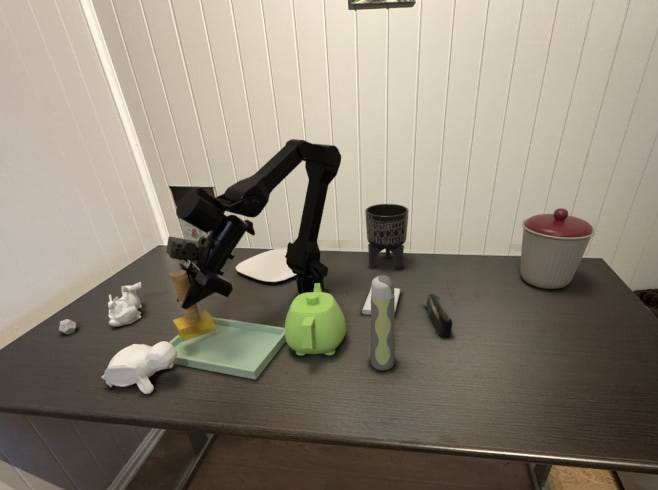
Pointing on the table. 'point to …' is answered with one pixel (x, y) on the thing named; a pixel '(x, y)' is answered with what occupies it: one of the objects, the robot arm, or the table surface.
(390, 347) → the grey green cylinder
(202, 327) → the sponge wand
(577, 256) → the canister
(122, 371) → the white turtle figurine
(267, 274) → the plate
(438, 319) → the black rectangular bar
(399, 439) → the table surface
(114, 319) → the white figurine
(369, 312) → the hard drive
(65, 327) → the game die
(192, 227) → the candy bar box
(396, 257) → the planter
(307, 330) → the teapot
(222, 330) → the tray
